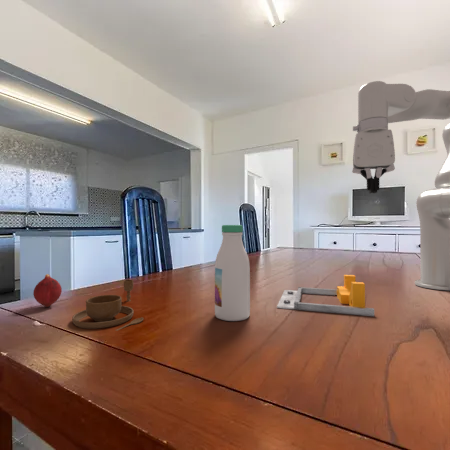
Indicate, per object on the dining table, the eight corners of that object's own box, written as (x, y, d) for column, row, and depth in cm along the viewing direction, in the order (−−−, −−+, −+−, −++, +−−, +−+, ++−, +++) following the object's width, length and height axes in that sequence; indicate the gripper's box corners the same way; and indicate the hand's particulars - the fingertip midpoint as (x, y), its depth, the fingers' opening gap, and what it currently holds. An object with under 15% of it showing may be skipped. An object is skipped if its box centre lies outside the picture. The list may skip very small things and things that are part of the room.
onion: (66, 305, 70) (66, 273, 70) (43, 311, 65) (43, 277, 65) (51, 302, 72) (51, 271, 72) (28, 308, 67) (28, 275, 67)
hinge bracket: (284, 291, 84) (284, 286, 84) (361, 296, 78) (361, 291, 78) (276, 307, 67) (276, 301, 67) (374, 316, 61) (374, 309, 61)
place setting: (51, 322, 59) (51, 294, 59) (127, 300, 76) (127, 278, 76) (106, 339, 50) (106, 306, 50) (178, 310, 67) (178, 285, 68)
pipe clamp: (337, 297, 77) (336, 274, 77) (354, 298, 76) (353, 275, 76) (344, 310, 66) (344, 283, 66) (365, 311, 65) (364, 283, 65)
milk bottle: (253, 312, 64) (253, 224, 64) (244, 323, 56) (244, 224, 56) (221, 309, 66) (221, 224, 66) (209, 319, 59) (209, 224, 59)
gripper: (345, 127, 79) (345, 192, 78) (407, 120, 74) (407, 190, 74) (343, 135, 86) (343, 195, 86) (399, 130, 81) (399, 193, 81)
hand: (373, 192), depth 80 cm, fingers closed
